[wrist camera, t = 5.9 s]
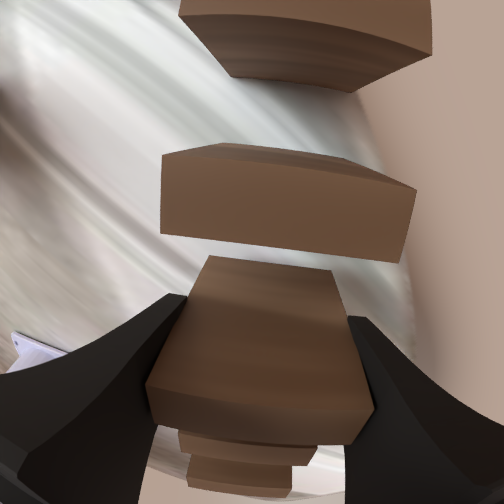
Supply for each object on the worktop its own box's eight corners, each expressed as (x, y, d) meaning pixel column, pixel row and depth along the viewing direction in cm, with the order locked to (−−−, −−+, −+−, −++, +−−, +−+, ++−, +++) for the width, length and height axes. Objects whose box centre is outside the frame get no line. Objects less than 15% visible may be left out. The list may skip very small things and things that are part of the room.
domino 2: (337, 194, 12) (398, 263, 6) (220, 179, 12) (160, 233, 6) (342, 158, 12) (417, 189, 5) (223, 142, 12) (162, 155, 5)
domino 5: (286, 403, 17) (285, 497, 11) (210, 394, 18) (188, 486, 11) (291, 388, 17) (291, 488, 10) (210, 379, 17) (186, 476, 11)
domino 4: (300, 356, 16) (306, 466, 9) (211, 345, 16) (181, 451, 9) (306, 334, 15) (317, 448, 9) (212, 322, 15) (177, 432, 9)
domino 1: (351, 93, 10) (432, 55, 4) (230, 76, 11) (177, 16, 4) (354, 59, 10) (429, -4, 3) (234, 42, 10) (191, -42, 3)
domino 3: (323, 303, 12) (350, 445, 6) (207, 289, 13) (154, 423, 6) (331, 270, 12) (374, 409, 5) (209, 255, 12) (144, 384, 6)
